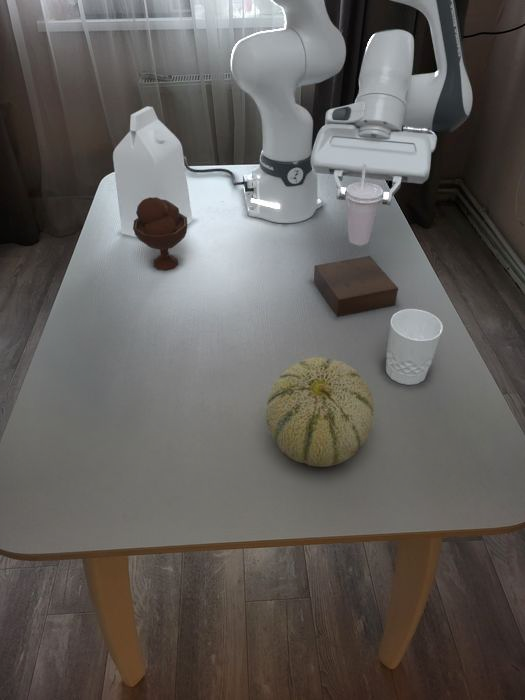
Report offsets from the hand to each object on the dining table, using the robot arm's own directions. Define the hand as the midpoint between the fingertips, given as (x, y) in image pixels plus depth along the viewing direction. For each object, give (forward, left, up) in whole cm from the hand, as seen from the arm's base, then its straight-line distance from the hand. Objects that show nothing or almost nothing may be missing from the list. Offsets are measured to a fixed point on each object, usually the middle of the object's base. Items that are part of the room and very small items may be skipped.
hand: (363, 201), depth 95 cm
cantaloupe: (+32, -20, -20) cm, 43 cm away
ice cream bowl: (-23, -32, -20) cm, 44 cm away
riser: (-1, +1, -20) cm, 20 cm away
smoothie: (-1, 0, -8) cm, 8 cm away
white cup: (+22, 0, -20) cm, 30 cm away
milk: (-39, -31, -20) cm, 54 cm away
